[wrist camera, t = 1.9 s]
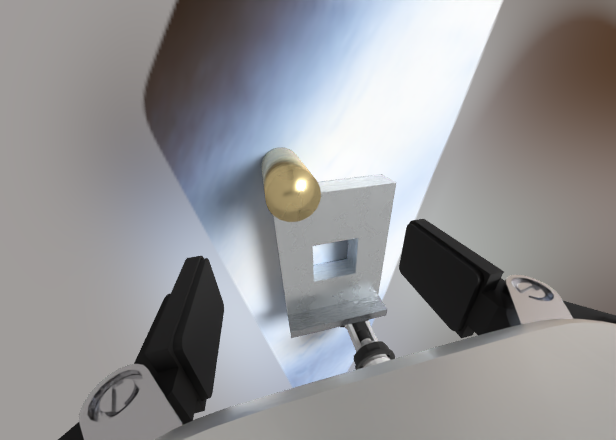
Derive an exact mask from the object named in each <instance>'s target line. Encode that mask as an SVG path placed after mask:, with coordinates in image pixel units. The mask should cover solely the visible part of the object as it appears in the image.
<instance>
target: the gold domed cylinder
mask: <svg viewBox="0 0 616 440" xmlns="http://www.w3.org/2000/svg"><path fill="white" fill-rule="evenodd" d="M262 176H263V183H264V191H265V199H266V204H267V207H268V209H269V211H270V212H271V213H272V214H273V215H274V216H275V217H276V218H278V219H280V220H282V221H286V222H297V221H301V220H304V219H306V218H307V217H309V216H310V215H312V214H313V213H314V211H315V210H316V209H317V207H318V205H319V203H320V199H321V190H320V186H319V184H318V182H317V181H316V179H315V178H314V177H313V176H312V174H311V173H310V172H309V170H308V169H307V168H306V167H305V165H304V164H303V163H302V162H301V160H300V159H299V158H298V157H297V155H296V154H295V153H294V152H293V151H291V150H290V149H287V148H275V149H272V150H271V151H269V152H268V153H267V154H266V155H265V157H264V158H263V161H262Z"/></svg>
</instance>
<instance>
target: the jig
mask: <svg viewBox="0 0 616 440" xmlns="http://www.w3.org/2000/svg"><path fill="white" fill-rule="evenodd" d="M318 184H319V186H320V190H321V199H320V203H319V205H318V207H317V209H316V210H315V211H314V213H313V214H312V215H310V216H309V217H307V218H306V219H304V220H301V221H297V222H286V221H282V220H280V219H278V218H276V217H275V216H274V215H273V217H274V224H275V231H276V238H277V245H278V252H279V259H280V266H281V274H282V281H283V288H284V295H285V302H286V308H287V314H288V320H289V326H290V333H291V338H294V337H298V336H302V335H306V334H310V333H315V332H319V331H323V330H327V329H331V328H335V327H340V326H344V325H348V324H352V323H356V322H360V321H364V320H369V319H373V318H377V317H381V316H385V315H386V313H387V308H386V307H385V305H384V304H383V302H382V300H381V299H380V297H379V296H378V292H379V286H380V280H381V273H382V267H383V261H384V255H385V249H386V243H387V236H388V230H389V224H390V218H391V212H392V205H393V199H394V193H395V187H396V182H394V181H392V180H391V179H389V178H387V177H385V176H384V175H382V174H380V175H371V176H363V177H355V178H347V179H338V180H330V181H322V182H318ZM344 240H348V247H347V259H343V260H338V261H332V262H327V263H322V264H316V265H313V249H312V246H314V245H320V244H326V243H332V242H338V241H344Z"/></svg>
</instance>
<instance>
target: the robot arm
mask: <svg viewBox="0 0 616 440" xmlns="http://www.w3.org/2000/svg"><path fill="white" fill-rule="evenodd" d="M399 270H400V272H401V274H402V275H403V276H404V277H405V278H406V279H407V281H408V282H409V283H410V284H411V285H412V286H413V287H414V288H415V290H416V291H417V292H418V293H419V294H420V295H421V296H422V298H423V299H424V300H425V301H426V302H427V303H428V304H429V305H430V307H431V308H432V309H433V310H434V311H435V312H436V313H437V314H438V315H439V317H440V318H441V319H442V320H443V321H444V322H445V323H446V325H447V326H448V327H449V328H450V329H451V330H453V331H455V332H456V333H457V334H458V335H459V336H460V337H461V338H464V337H467V336H471V335H473V333H474V332H475V333H476V334H477V335H478V336H475V337H471V338H467V339H464V340H461V341H456V342H453V343H450V344H446V345H442V346H438V347H435V348H431V349H428V350H424V351H421V352H417V353H413V354H410V355H406V356H403V357H399V358H396V359H392V360H389V361H385V362H382V363H378V364H375V365H371V366H368V367H364V368H361V369H357V370H353V371H350V372H347V373H343V374H340V375H336V376H333V377H329V378H326V379H322V380H319V381H315V382H312V383H308V384H305V385H302V386H298V387H295V388H291V389H288V390H284V391H281V392H277V393H274V394H271V395H268V396H265V397H261V398H258V399H255V400H252V401H248V402H245V403H242V404H239V405H235V406H232V407H229V408H226V409H223V410H220V411H217V412H214V413H212V414H209V415H206V416H203V417H201V418H198V419H195V420H193V417H194V413H198V412H201V411H204V410H205V405H206V399H208V398H211V396H212V392H213V384H214V378H215V371H216V362H217V356H218V349H219V342H220V334H221V328H222V321H223V313H224V304H223V300H222V298H221V295H220V292H219V289H218V286H217V283H216V280H215V277H214V274H213V271H212V268H211V265H210V262H209V260H208V259H207V258H206V259H204V258H203V256H197V257H191V258H187V259H186V260H185V263H184V265H183V267H182V269H181V272H180V274H179V277H178V279H177V281H176V283H175V286H174V288H173V290H172V292H171V294H168V295H167V296H166V297H165V298H164V300H163V302H162V304H161V307H160V309H159V311H158V313H157V315H156V317H155V320H154V322H153V324H152V326H151V328H150V331H149V333H148V335H147V337H146V339H145V341H144V343H143V346H142V348H141V350H140V352H139V354H138V356H137V359H136V361H135V363H134V364H132V365H127V366H125V367H122V368H120V369H118V370H116V371H115V372H113V373H111V374H110V375H108V376H107V377H106V378H105V379H104V380H102V381H101V382H100V383H99V384H98V385H97V386H96V387H95V388H94V389H93V390H92V392H91V393H90V394H89V395H88V397H87V399H86V400H85V402H84V403H83V406H82V408H81V411H80V414H79V422H78V423H77V424H76V425H75V426H74V427H72V428H71V429H70V430H69V431H68V432H67V433H65V435H63V436H62V437H61V438H59V439H58V440H616V316H615V315H612V314H608V313H604V312H601V311H598V310H594V309H590V308H587V307H583V306H579V305H576V304H573V303H569V302H566V301H562V299H561V297H560V296H559V294H558V293H557V292H556V291H555V290H554V289H552V288H551V287H550V286H548V285H547V284H545V283H543V282H542V281H539V280H537V279H534V278H531V277H528V276H523V275H511V276H508V277H507V278H506V280H505V281H504V280H503V279H501V276H502V274H503V271H502V270H501V269H499V268H498V267H496V266H494V265H493V264H492V263H490V262H489V261H487V260H486V259H484V258H482V257H481V256H479V255H478V254H476V253H475V252H473V251H472V250H470V249H469V248H467V247H466V246H464V245H463V244H461V243H460V242H458V241H457V240H455V239H454V238H452V237H450V236H449V235H448V234H446V233H445V232H443V231H442V230H440V229H438V228H437V227H436V226H434V225H433V224H431V223H429V222H428V221H426V220H425V219H419V220H413V221H411V222H410V223H409V224H408V225H407V228H406V233H405V239H404V244H403V249H402V254H401V260H400V265H399Z"/></svg>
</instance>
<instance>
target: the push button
mask: <svg viewBox="0 0 616 440" xmlns="http://www.w3.org/2000/svg"><path fill="white" fill-rule="evenodd" d="M340 327H345V328H347V330H348V333H349V335H350V337H351V340H352V342H353V345H354V347H355V350H356V354H355V355H354V362H355V364H356V366H355V368H356V370H357V369H361V368H364V367H368V366H371V365H375V364H378V363H382V362H385V361H389V360H392V359H395V355H394V353H393V352H392V351H391V350H390V349H389V348H388V346H387V345H386V344H385V343H383V342H379V341H378V340H377V337H376V335H375V334H374V332H373V330H372V328H371V326H370V322H369V321H368V320H364V321H360V322H356V323H352V324H348V325H344V326H340Z"/></svg>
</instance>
